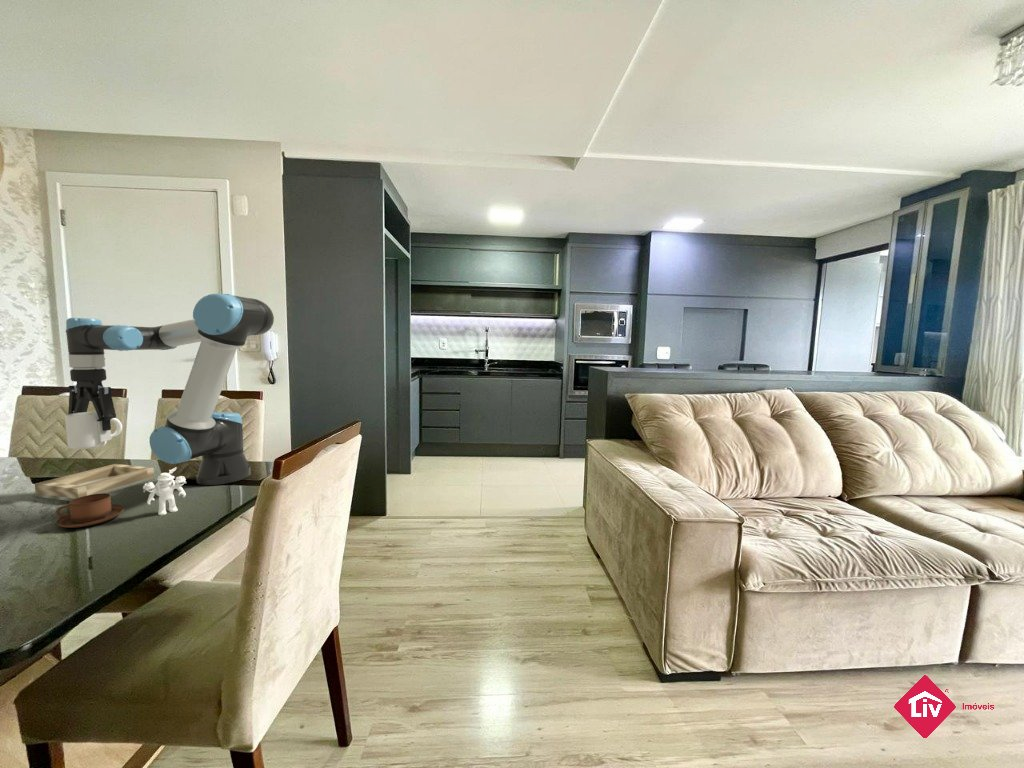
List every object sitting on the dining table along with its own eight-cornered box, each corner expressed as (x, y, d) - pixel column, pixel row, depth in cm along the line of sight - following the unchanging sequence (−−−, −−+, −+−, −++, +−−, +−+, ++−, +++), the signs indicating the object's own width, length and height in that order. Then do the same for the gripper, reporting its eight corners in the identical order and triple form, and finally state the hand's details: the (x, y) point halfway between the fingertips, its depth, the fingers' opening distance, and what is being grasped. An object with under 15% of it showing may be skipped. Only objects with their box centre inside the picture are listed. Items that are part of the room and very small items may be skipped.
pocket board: (154, 479, 132) (153, 467, 131) (78, 502, 112) (77, 488, 112) (116, 474, 135) (115, 463, 135) (36, 496, 116) (34, 483, 115)
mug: (123, 439, 129) (121, 409, 128) (123, 444, 123) (121, 413, 122) (69, 446, 121) (66, 413, 120) (66, 451, 115) (63, 417, 114)
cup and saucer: (59, 537, 93) (56, 512, 92) (55, 522, 100) (52, 499, 99) (128, 519, 102) (126, 497, 102) (120, 507, 110) (118, 486, 109)
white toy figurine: (185, 504, 112) (183, 464, 111) (190, 508, 109) (187, 467, 108) (143, 515, 104) (140, 472, 103) (147, 519, 102) (144, 475, 101)
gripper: (128, 368, 121) (134, 439, 124) (78, 366, 126) (84, 434, 128) (99, 370, 114) (105, 445, 116) (46, 367, 118) (53, 439, 121)
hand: (94, 439), depth 122 cm, fingers closed on mug, 8 cm apart
